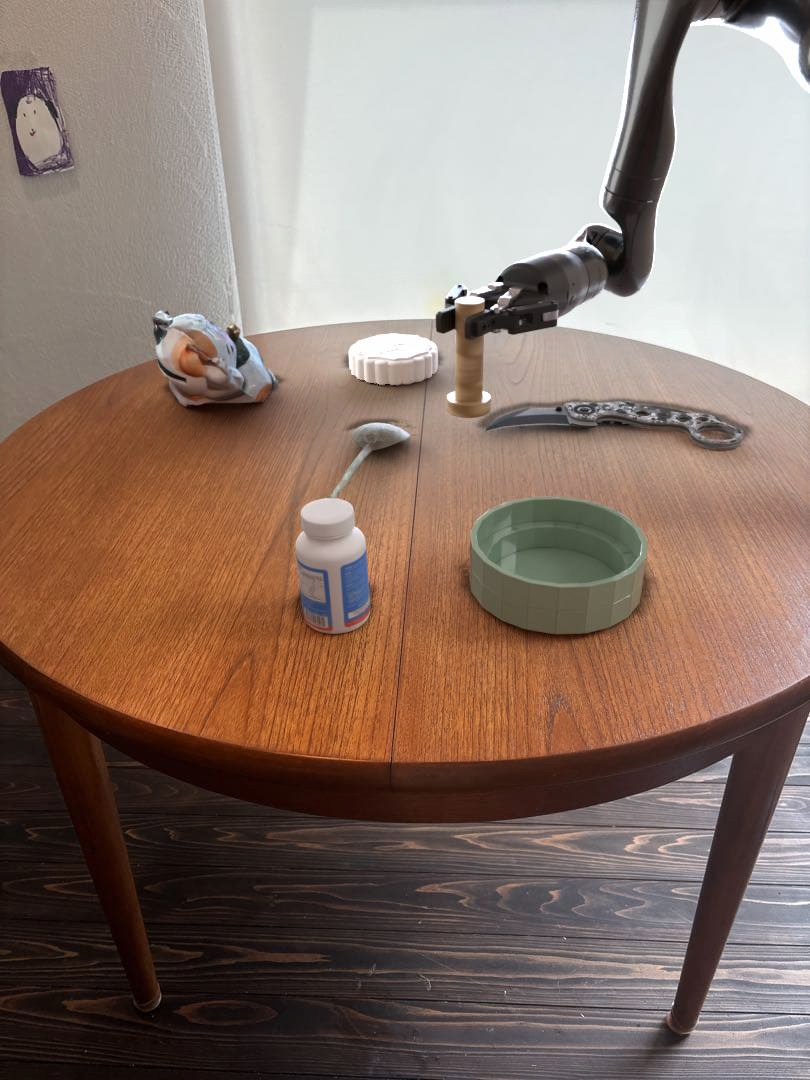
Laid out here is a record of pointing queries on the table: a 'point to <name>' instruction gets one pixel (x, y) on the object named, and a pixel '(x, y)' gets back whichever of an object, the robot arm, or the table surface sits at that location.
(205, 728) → the table surface
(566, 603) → the bowl
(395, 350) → the mooncake
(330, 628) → the pill bottle
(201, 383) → the lucky cat figurine
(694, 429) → the knife
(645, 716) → the table surface
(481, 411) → the muddler
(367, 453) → the soupspoon
